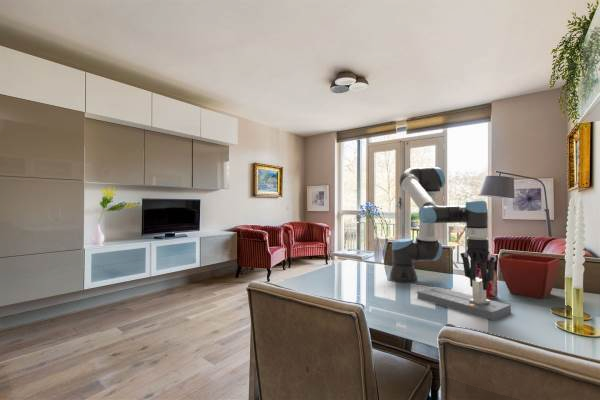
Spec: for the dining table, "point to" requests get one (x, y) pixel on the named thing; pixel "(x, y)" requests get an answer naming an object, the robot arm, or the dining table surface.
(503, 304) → the fader console
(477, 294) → the block
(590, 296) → the dining table surface
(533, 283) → the plant pot
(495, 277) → the soda can
